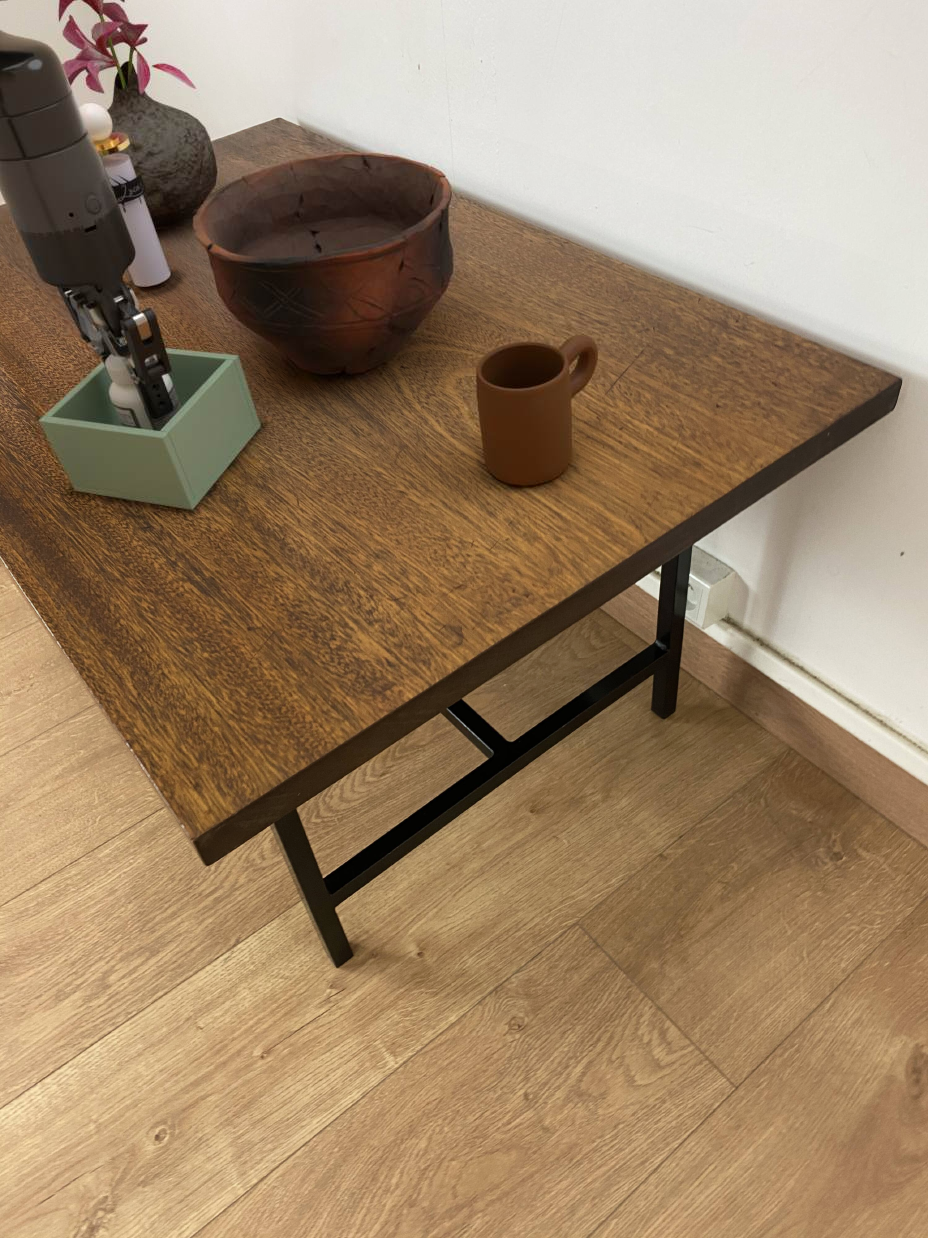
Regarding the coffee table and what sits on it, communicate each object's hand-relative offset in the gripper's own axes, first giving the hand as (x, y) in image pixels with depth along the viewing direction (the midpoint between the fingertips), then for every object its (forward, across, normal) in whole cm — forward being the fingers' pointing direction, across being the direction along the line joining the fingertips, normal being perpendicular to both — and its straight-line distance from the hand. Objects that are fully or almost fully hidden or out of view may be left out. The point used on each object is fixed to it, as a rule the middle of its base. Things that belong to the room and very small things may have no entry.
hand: (145, 401), depth 79 cm
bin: (+6, 0, 0) cm, 6 cm away
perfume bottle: (+6, -34, +17) cm, 39 cm away
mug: (+6, +26, +23) cm, 36 cm away
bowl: (+6, -2, +24) cm, 25 cm away
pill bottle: (+6, 0, 0) cm, 6 cm away
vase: (+6, -50, +29) cm, 59 cm away
